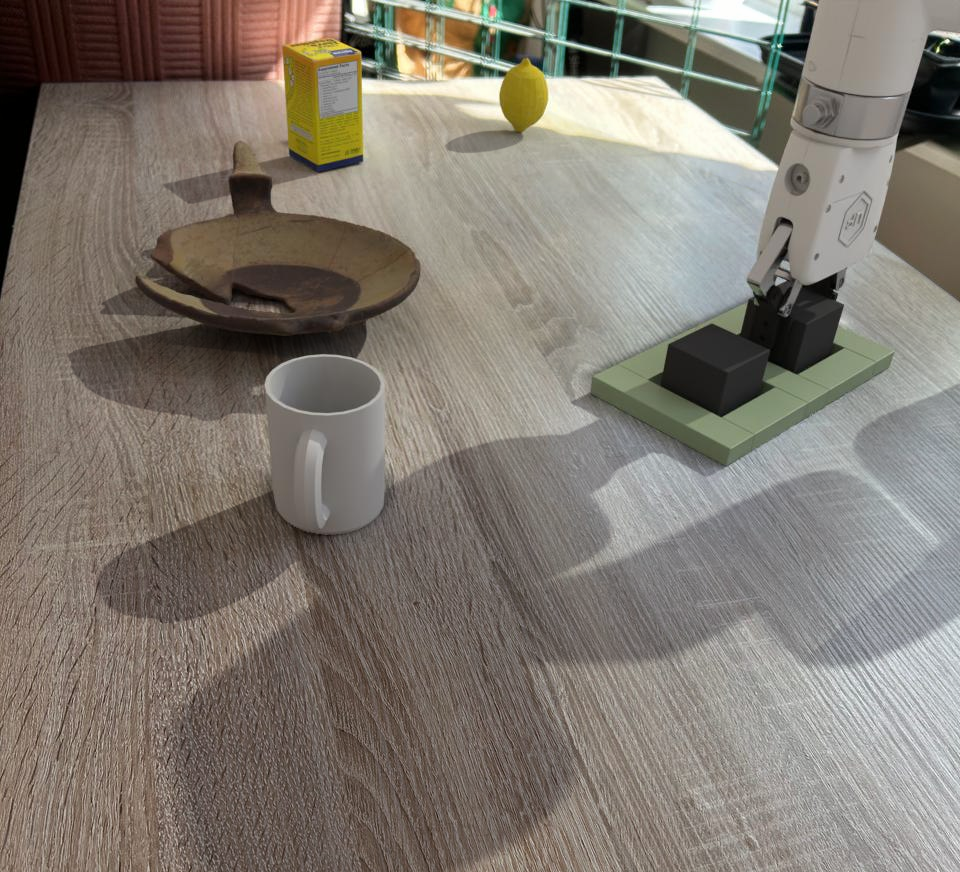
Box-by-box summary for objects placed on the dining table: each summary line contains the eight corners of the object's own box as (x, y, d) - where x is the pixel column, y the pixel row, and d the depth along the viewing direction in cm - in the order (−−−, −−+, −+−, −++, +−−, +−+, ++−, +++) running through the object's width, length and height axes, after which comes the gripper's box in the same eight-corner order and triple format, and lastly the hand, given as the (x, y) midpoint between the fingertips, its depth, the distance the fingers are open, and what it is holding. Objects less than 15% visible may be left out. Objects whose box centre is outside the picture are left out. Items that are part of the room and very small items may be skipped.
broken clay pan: (107, 378, 82) (89, 280, 77) (199, 219, 104) (190, 135, 99) (405, 400, 83) (406, 304, 77) (434, 237, 105) (437, 154, 99)
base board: (760, 309, 98) (764, 293, 97) (889, 367, 91) (895, 350, 90) (589, 393, 85) (592, 375, 84) (725, 466, 79) (730, 449, 78)
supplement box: (333, 145, 121) (329, 35, 114) (364, 163, 118) (363, 51, 110) (286, 155, 118) (280, 43, 111) (317, 173, 115) (313, 59, 107)
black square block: (774, 330, 93) (787, 279, 90) (829, 355, 90) (845, 304, 87) (736, 350, 90) (748, 298, 87) (792, 376, 88) (806, 324, 84)
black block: (700, 374, 88) (711, 322, 85) (757, 402, 86) (770, 349, 82) (657, 396, 85) (667, 343, 82) (714, 426, 83) (727, 372, 79)
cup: (393, 479, 75) (394, 361, 69) (366, 571, 68) (364, 447, 62) (289, 467, 75) (280, 348, 69) (250, 557, 68) (237, 433, 62)
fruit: (519, 143, 125) (526, 67, 120) (487, 129, 128) (491, 54, 123) (554, 134, 128) (562, 59, 123) (521, 121, 131) (527, 47, 125)
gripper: (828, 149, 71) (763, 397, 83) (955, 101, 80) (880, 330, 93) (734, 117, 75) (685, 358, 87) (865, 74, 84) (804, 298, 96)
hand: (786, 341), depth 90 cm, fingers closed on black square block, 5 cm apart
